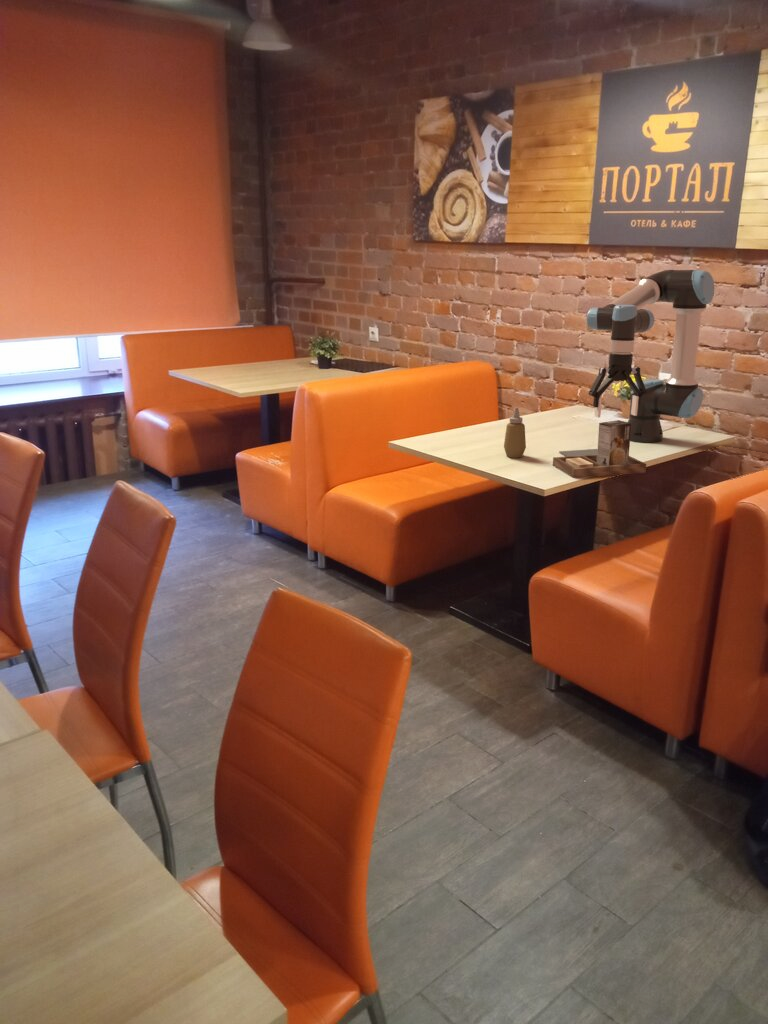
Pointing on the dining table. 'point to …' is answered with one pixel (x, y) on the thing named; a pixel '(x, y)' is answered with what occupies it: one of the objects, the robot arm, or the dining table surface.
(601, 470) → the wooden tray
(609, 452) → the coffee box
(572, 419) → the dining table surface
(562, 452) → the mat
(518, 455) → the squeeze bottle
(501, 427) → the dining table surface
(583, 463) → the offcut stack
